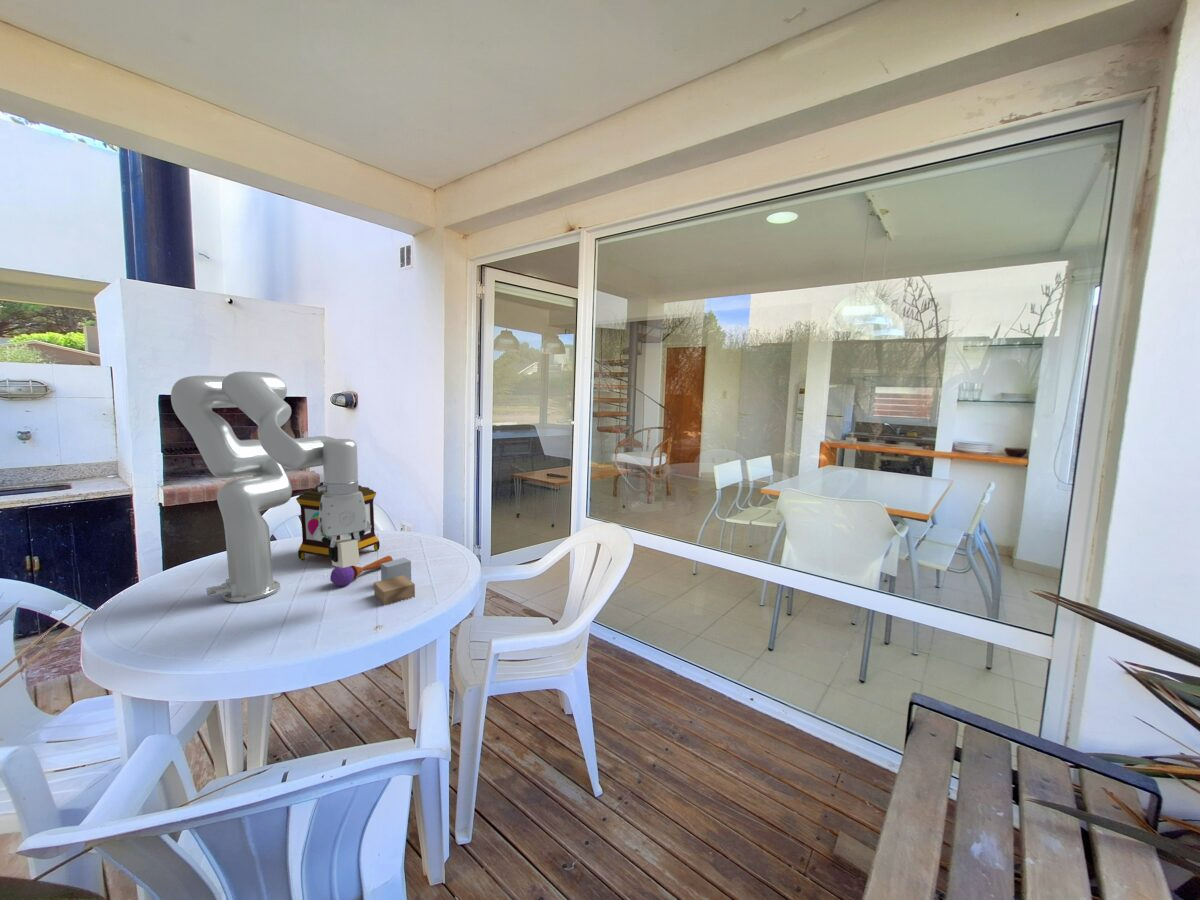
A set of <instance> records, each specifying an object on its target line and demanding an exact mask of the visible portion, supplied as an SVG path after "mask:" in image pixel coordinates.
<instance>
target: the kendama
mask: <svg viewBox="0 0 1200 900" xmlns="http://www.w3.org/2000/svg"><path fill="white" fill-rule="evenodd" d="M393 560H394V559H393V557H392V556H391V555H386V556H384V557H381V558H380V559H378V560H375V561H373V562H370V563H368V564H366V565H364V566H362V567H361V566H358V565H353V566H349V567H345V568H341V567H338V566H335V567H334V568H333V569H332V571H331V573H330V581H331V583H332V584H333V585H334V586H336V587H346V586H347V585H350V583H352V581H353V580H355V579H357V577H359V575H360V574H362V572H365V571H370V570H375V569H381V564H382V563H386V562H389V561H393Z"/></svg>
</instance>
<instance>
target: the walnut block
mask: <svg viewBox="0 0 1200 900" xmlns="http://www.w3.org/2000/svg"><path fill="white" fill-rule="evenodd" d="M373 585H374V587H373V593H374V595H373V596H374V597H375V598H376V597H377V598H378V599H377V598H376V599H377V600H378V601H379V602H380V603H381V604H382V605H383V606H384V605H385V606H388V605H391V603H392V604H395V602H396V603H398V601H399V602H402V601H401V600H403V601H405V599H406V600H409V599H408V598H410V599H413V598H412V597H414V598H416V589H415V588H416V586H415V585H416V584H415V583H414V582H413V581H412V580H409V579H408V578H407V577H405V576H404V575H403V576H399V577H395V578H390V579H386V580H382V581H381V580H379V581H375V582H373Z"/></svg>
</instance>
